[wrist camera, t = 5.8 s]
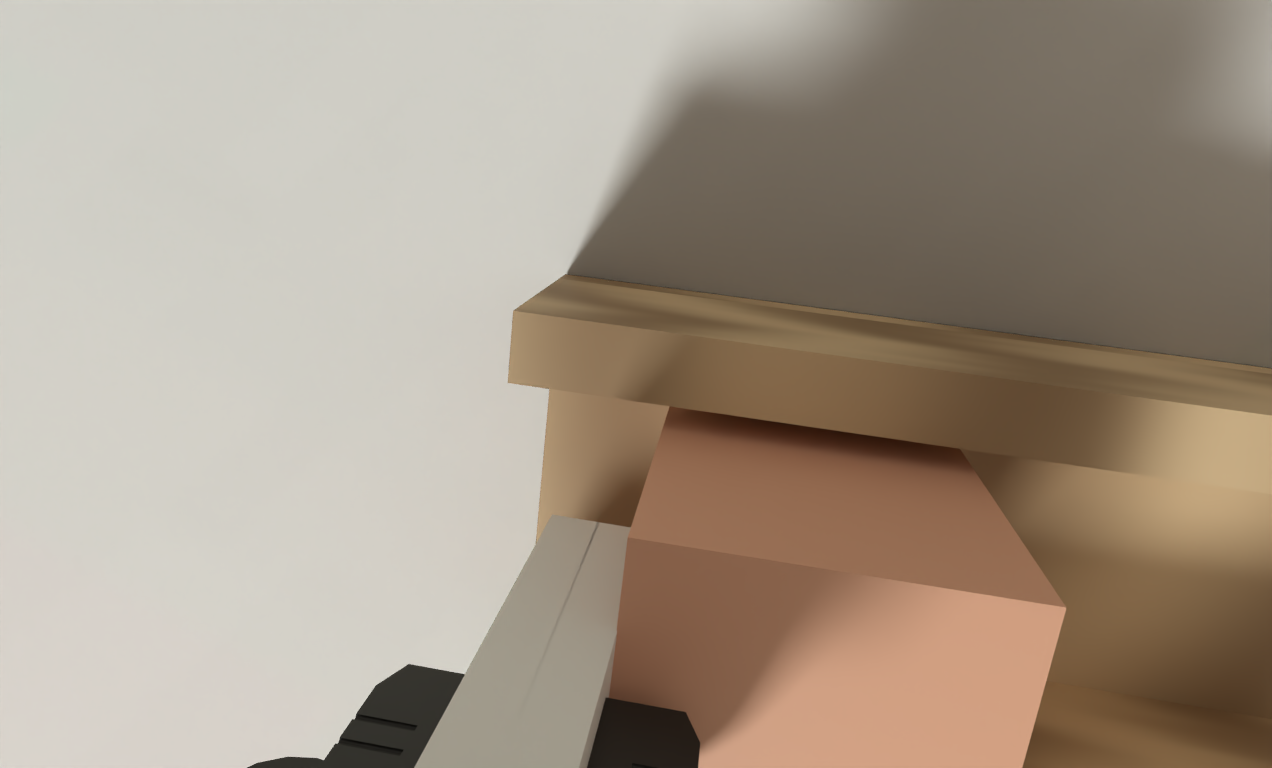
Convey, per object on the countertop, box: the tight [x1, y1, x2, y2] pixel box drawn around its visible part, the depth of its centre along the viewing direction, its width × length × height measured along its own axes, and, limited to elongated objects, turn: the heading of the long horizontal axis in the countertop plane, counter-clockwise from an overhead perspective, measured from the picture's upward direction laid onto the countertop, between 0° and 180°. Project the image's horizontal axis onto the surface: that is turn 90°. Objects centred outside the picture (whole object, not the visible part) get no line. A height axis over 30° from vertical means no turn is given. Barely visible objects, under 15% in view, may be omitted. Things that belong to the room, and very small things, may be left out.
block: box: [609, 407, 1066, 768], centre depth 14 cm, size 5×5×8 cm
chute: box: [508, 274, 1272, 768], centre depth 16 cm, size 16×8×4 cm, turn 84°
